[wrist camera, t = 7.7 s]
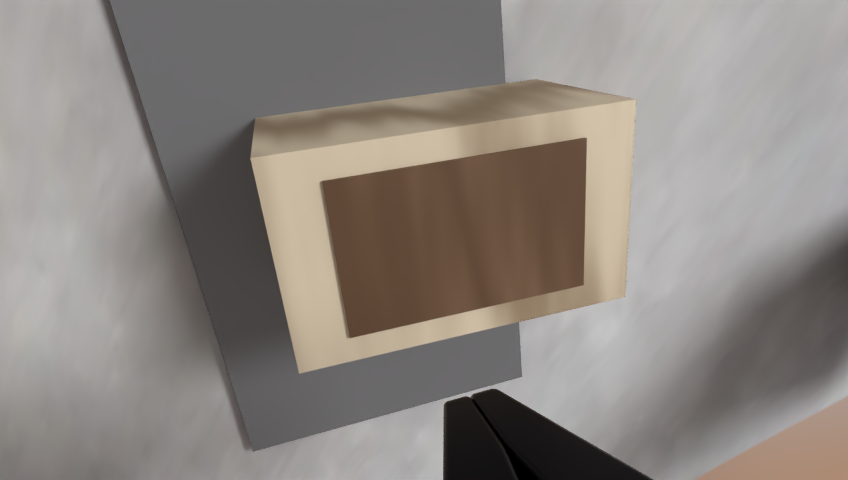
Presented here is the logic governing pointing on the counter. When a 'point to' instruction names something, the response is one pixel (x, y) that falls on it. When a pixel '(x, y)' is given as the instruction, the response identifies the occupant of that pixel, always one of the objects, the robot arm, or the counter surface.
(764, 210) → the counter surface
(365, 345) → the birch block
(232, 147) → the rubber mat
